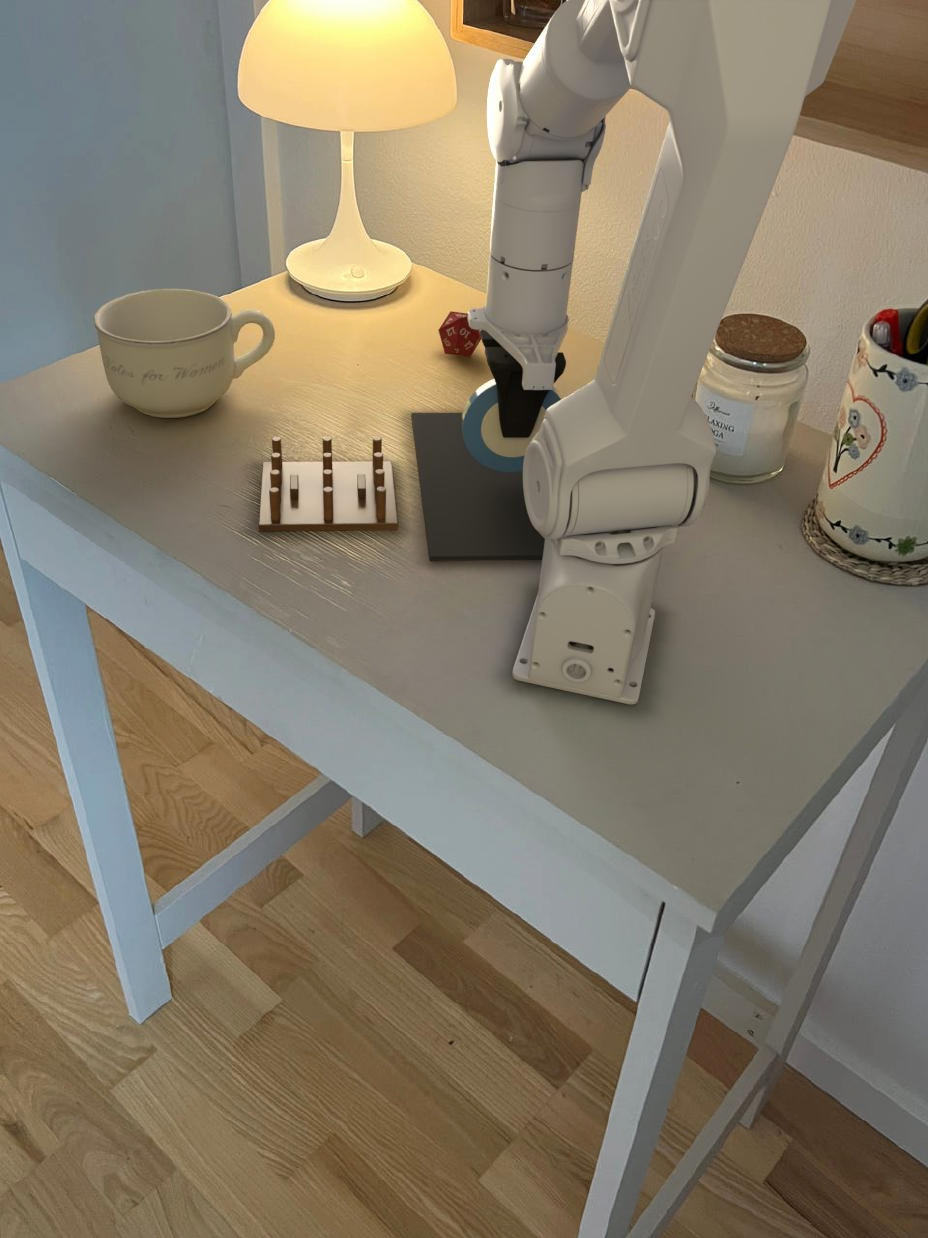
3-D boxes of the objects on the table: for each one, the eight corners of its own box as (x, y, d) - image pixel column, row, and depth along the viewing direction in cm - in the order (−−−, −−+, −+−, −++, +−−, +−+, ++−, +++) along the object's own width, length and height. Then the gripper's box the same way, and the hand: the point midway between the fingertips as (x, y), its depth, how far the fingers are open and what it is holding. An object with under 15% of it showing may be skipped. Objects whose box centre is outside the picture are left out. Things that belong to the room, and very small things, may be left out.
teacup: (95, 430, 91) (79, 338, 86) (121, 366, 99) (108, 278, 94) (270, 436, 92) (265, 345, 86) (282, 372, 100) (278, 285, 95)
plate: (561, 473, 88) (575, 380, 83) (458, 472, 87) (466, 378, 82) (559, 465, 89) (572, 373, 84) (457, 465, 88) (464, 371, 83)
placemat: (622, 558, 82) (623, 553, 82) (429, 561, 80) (429, 556, 80) (574, 416, 97) (575, 412, 97) (411, 416, 95) (411, 412, 95)
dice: (482, 346, 106) (485, 305, 103) (475, 368, 103) (478, 326, 100) (443, 340, 106) (445, 300, 104) (434, 362, 103) (436, 321, 100)
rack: (397, 529, 83) (398, 494, 81) (259, 531, 82) (256, 495, 80) (391, 467, 89) (392, 433, 87) (263, 468, 88) (260, 433, 86)
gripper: (462, 212, 82) (452, 381, 91) (485, 299, 71) (471, 482, 80) (558, 214, 83) (539, 382, 91) (595, 301, 72) (570, 482, 80)
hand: (514, 429), depth 86 cm, fingers closed on plate, 1 cm apart
